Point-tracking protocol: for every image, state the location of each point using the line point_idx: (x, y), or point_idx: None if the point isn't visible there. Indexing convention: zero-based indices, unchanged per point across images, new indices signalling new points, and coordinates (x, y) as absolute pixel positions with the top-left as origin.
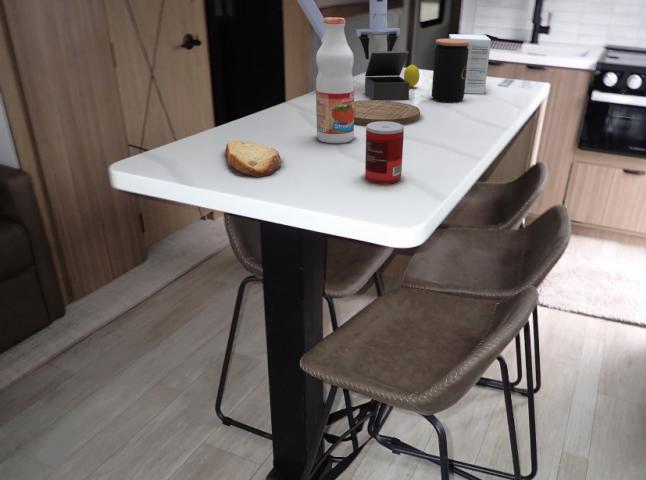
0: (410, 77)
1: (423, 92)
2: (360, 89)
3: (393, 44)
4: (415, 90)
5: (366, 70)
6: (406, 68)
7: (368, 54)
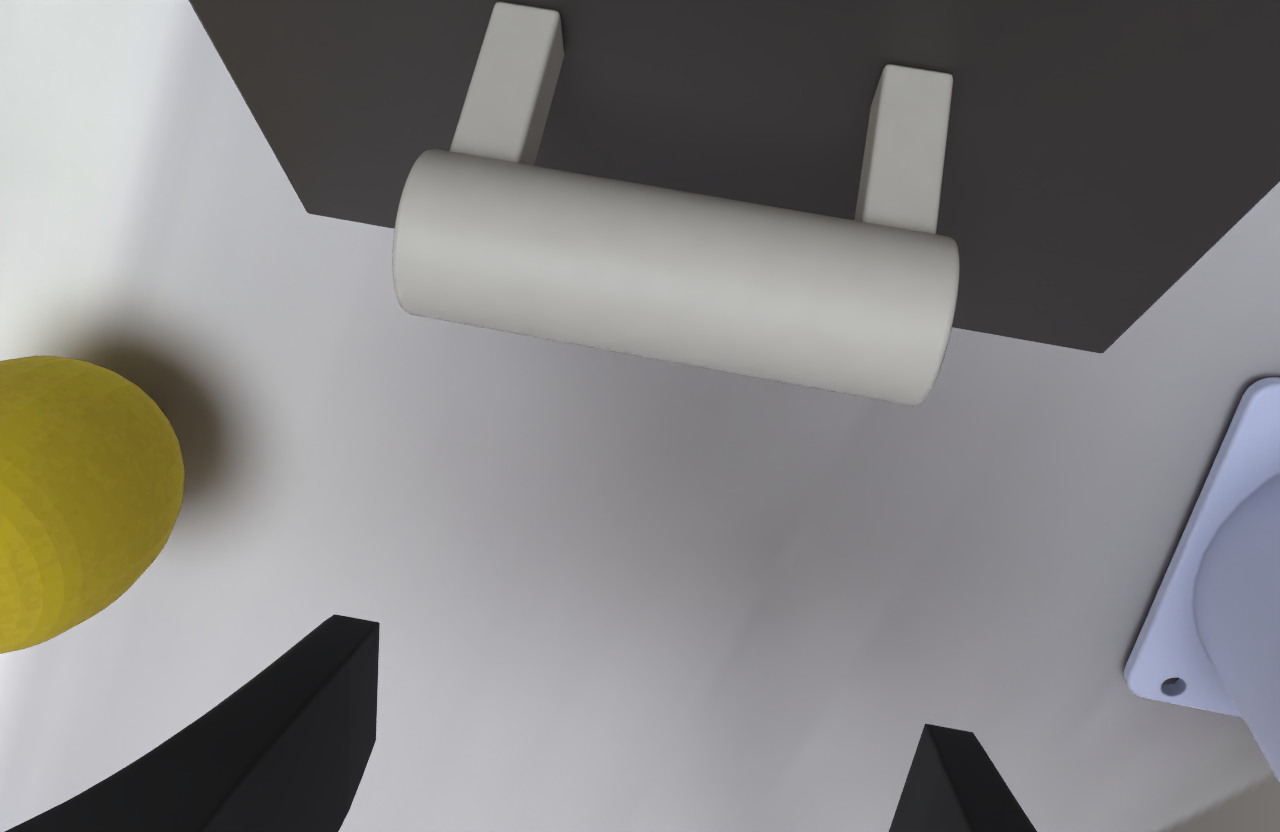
0: (71, 402)
1: (21, 36)
2: (920, 542)
3: (53, 825)
4: (115, 225)
5: (1188, 264)
6: (41, 590)
7: (965, 802)
